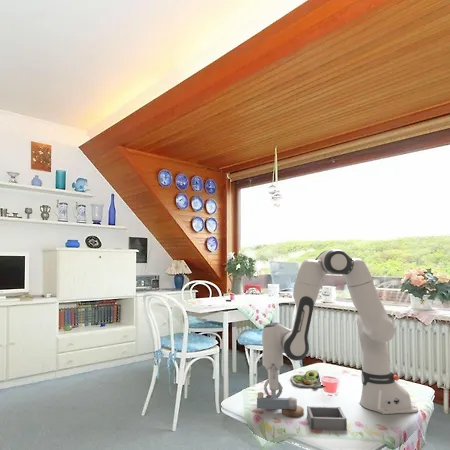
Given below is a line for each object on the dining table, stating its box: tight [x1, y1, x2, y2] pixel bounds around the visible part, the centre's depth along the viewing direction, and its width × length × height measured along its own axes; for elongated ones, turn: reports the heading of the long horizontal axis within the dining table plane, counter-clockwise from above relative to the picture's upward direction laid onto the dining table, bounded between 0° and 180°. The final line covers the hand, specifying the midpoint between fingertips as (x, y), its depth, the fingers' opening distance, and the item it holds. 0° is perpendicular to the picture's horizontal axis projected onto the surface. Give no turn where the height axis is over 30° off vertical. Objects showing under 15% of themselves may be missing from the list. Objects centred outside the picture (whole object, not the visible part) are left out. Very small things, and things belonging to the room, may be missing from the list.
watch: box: [263, 378, 283, 398], centre depth 166 cm, size 6×8×11 cm
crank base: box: [280, 405, 305, 418], centre depth 158 cm, size 9×9×2 cm
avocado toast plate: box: [290, 369, 322, 389], centre depth 193 cm, size 19×18×5 cm
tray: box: [306, 405, 348, 431], centre depth 148 cm, size 13×11×4 cm
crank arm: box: [256, 391, 298, 410], centre depth 159 cm, size 16×4×6 cm, turn 85°
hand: (273, 393), depth 166 cm, fingers closed on watch, 4 cm apart
